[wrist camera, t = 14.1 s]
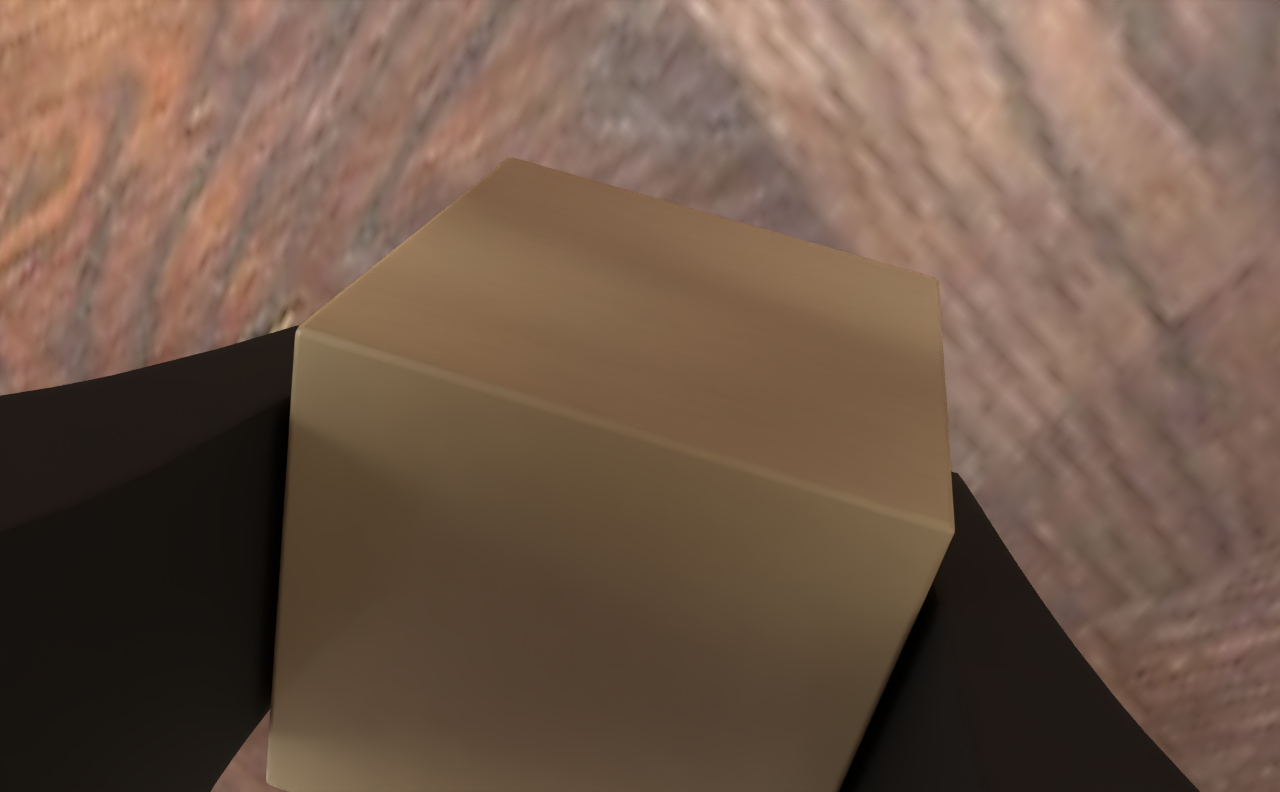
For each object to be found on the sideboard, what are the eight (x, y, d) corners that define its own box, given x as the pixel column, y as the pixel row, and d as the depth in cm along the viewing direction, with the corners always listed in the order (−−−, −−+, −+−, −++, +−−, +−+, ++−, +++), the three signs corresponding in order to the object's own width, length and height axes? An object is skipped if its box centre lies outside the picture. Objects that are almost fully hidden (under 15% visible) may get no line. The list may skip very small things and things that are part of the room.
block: (451, 506, 13) (261, 786, 9) (508, 153, 11) (291, 326, 7) (809, 620, 13) (766, 959, 9) (940, 277, 11) (959, 528, 7)
